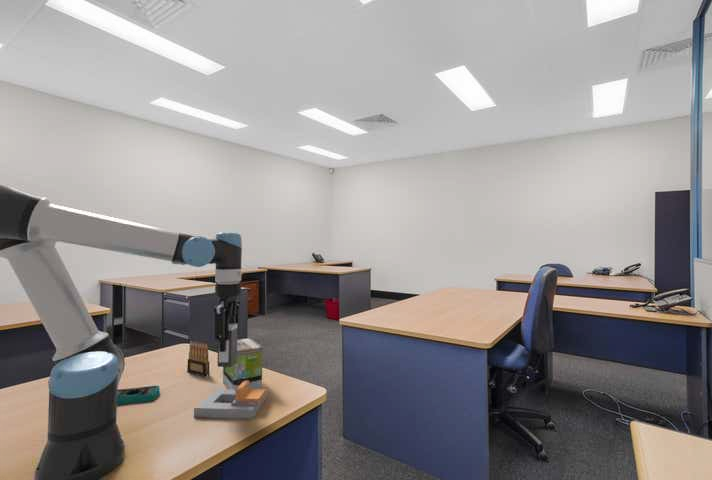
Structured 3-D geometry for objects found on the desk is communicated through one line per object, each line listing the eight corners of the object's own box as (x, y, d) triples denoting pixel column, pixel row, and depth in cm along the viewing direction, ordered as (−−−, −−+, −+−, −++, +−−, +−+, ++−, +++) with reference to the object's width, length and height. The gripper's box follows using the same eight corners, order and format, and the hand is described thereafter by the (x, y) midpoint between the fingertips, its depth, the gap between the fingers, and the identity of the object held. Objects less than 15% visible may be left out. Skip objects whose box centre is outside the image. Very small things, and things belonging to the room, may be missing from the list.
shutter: (258, 404, 96) (258, 390, 96) (235, 403, 96) (235, 389, 96) (266, 393, 102) (266, 380, 103) (244, 393, 103) (244, 380, 103)
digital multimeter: (155, 402, 103) (155, 392, 103) (99, 408, 99) (99, 398, 99) (161, 392, 110) (161, 383, 110) (109, 398, 106) (109, 389, 106)
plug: (231, 366, 98) (231, 326, 98) (217, 366, 98) (218, 326, 98) (236, 362, 102) (237, 323, 102) (223, 361, 102) (224, 323, 103)
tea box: (263, 389, 112) (263, 346, 112) (232, 397, 106) (233, 351, 107) (249, 375, 124) (250, 336, 125) (222, 381, 118) (222, 340, 119)
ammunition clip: (187, 371, 128) (187, 341, 129) (191, 370, 130) (191, 339, 130) (205, 376, 123) (206, 344, 124) (209, 375, 125) (210, 343, 125)
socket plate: (252, 418, 92) (252, 406, 93) (193, 416, 93) (194, 405, 93) (266, 398, 105) (267, 387, 106) (215, 396, 106) (215, 386, 106)
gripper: (228, 285, 92) (226, 369, 91) (250, 280, 109) (249, 350, 108) (202, 285, 92) (200, 369, 92) (228, 280, 110) (227, 350, 109)
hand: (227, 358), depth 100 cm, fingers closed on plug, 4 cm apart
